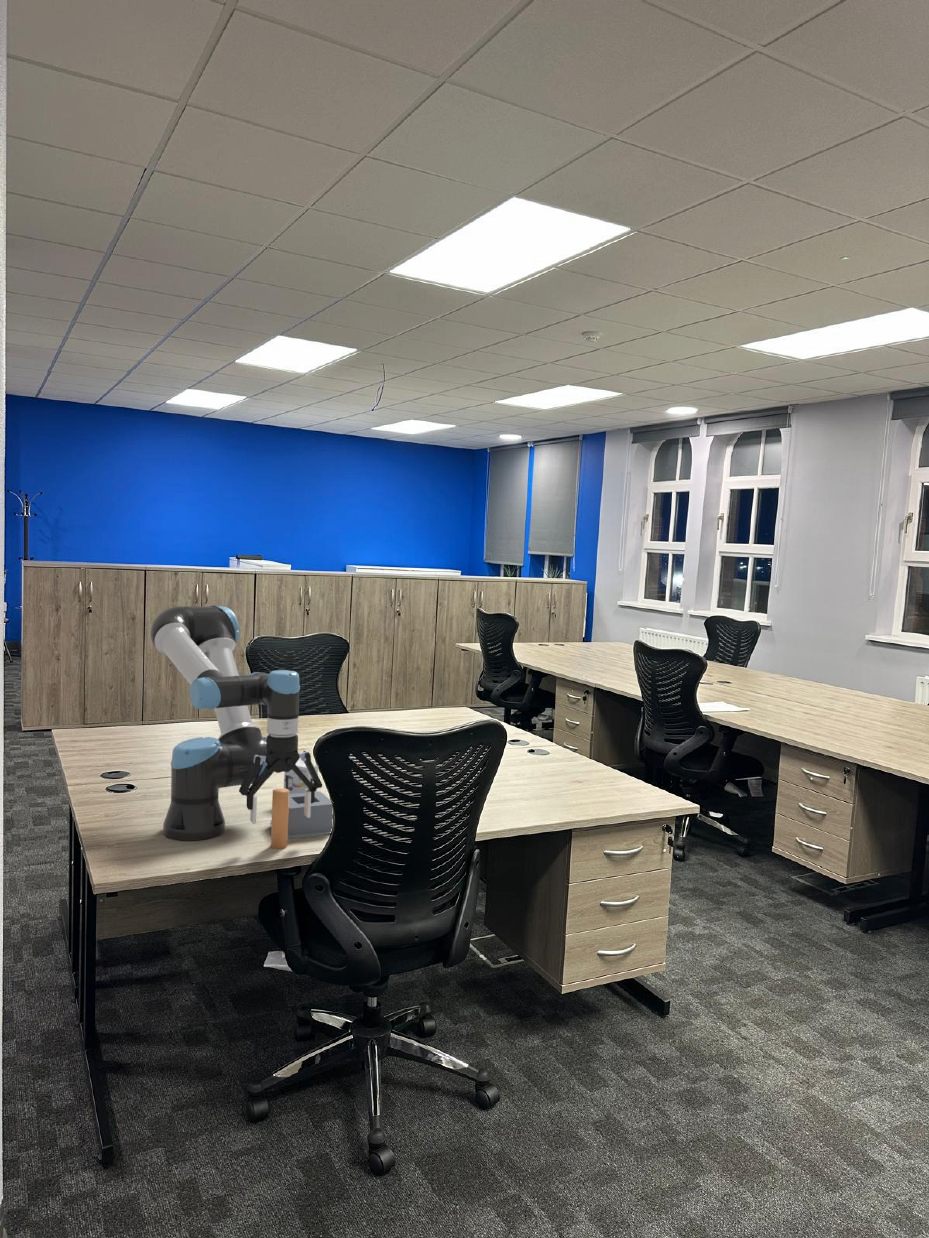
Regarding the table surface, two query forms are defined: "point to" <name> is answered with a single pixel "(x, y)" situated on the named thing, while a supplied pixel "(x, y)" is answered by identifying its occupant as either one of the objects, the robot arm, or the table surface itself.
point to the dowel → (280, 818)
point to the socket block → (318, 820)
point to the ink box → (298, 779)
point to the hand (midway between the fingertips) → (280, 819)
